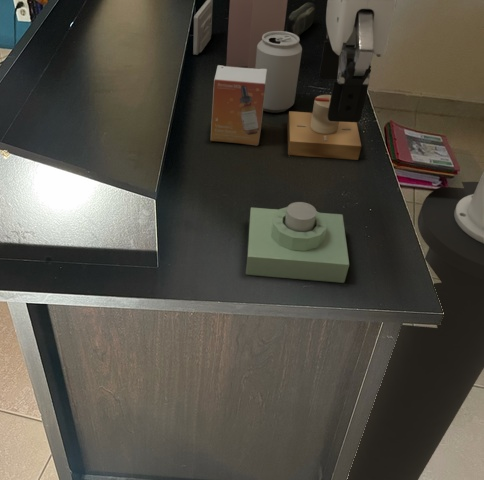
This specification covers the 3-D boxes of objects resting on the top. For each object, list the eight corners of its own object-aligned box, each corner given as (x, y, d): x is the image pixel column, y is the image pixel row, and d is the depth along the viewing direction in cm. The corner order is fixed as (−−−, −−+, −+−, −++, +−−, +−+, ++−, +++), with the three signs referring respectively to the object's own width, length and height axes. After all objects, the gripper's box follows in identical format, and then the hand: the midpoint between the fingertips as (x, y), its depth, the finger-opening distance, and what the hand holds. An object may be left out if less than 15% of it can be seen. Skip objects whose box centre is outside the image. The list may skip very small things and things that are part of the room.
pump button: (313, 216, 72) (316, 202, 70) (314, 234, 69) (317, 220, 68) (284, 214, 72) (286, 200, 71) (284, 231, 70) (286, 218, 68)
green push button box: (338, 232, 77) (345, 201, 74) (344, 283, 70) (353, 251, 66) (248, 225, 78) (252, 194, 74) (245, 274, 71) (249, 243, 67)
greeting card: (278, 61, 117) (287, -19, 107) (292, 76, 112) (303, -7, 102) (224, 66, 115) (229, -15, 105) (236, 82, 110) (242, -2, 100)
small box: (209, 142, 94) (212, 79, 86) (213, 125, 98) (216, 63, 90) (259, 146, 93) (266, 83, 86) (261, 129, 97) (267, 67, 90)
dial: (336, 121, 94) (342, 93, 91) (338, 135, 91) (344, 106, 88) (309, 120, 94) (314, 92, 91) (310, 133, 91) (315, 104, 88)
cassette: (199, 56, 119) (200, 17, 113) (190, 55, 119) (191, 16, 114) (213, 35, 127) (215, -2, 122) (205, 34, 127) (206, -3, 122)
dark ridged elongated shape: (305, -1, 131) (283, 18, 121) (317, 1, 130) (296, 20, 120) (301, 22, 134) (280, 42, 124) (314, 24, 134) (293, 45, 123)
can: (247, 96, 106) (253, 29, 97) (286, 94, 107) (295, 27, 98) (257, 116, 100) (265, 46, 92) (299, 113, 101) (309, 44, 93)
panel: (352, 129, 98) (355, 114, 96) (358, 160, 90) (361, 145, 89) (287, 124, 98) (289, 110, 97) (287, 155, 91) (290, 140, 89)
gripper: (444, -67, 42) (387, 141, 54) (400, -113, 55) (362, 65, 67) (341, -70, 43) (307, 137, 55) (321, -114, 55) (297, 63, 67)
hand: (338, 98), depth 61 cm, fingers open, 9 cm apart
